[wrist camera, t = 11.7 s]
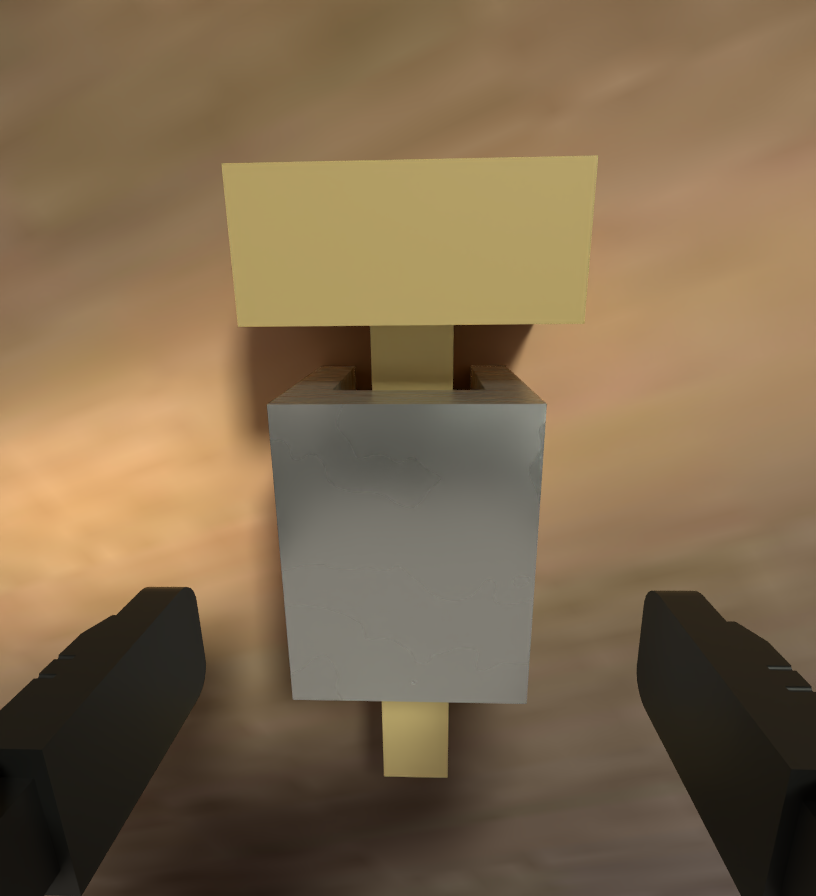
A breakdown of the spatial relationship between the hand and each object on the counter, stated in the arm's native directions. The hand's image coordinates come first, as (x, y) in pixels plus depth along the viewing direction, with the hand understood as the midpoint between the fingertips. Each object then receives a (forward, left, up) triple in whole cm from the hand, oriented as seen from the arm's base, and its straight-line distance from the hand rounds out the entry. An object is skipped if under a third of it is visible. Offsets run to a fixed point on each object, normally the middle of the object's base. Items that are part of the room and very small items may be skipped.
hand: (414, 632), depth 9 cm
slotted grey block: (0, 0, -7) cm, 7 cm away
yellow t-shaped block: (0, 0, -7) cm, 7 cm away
